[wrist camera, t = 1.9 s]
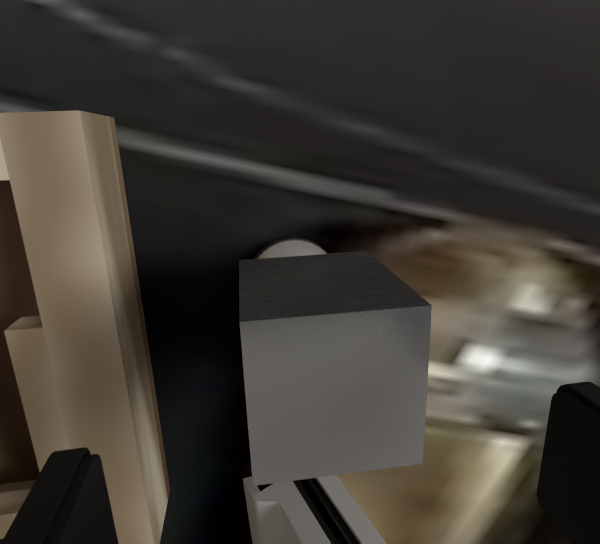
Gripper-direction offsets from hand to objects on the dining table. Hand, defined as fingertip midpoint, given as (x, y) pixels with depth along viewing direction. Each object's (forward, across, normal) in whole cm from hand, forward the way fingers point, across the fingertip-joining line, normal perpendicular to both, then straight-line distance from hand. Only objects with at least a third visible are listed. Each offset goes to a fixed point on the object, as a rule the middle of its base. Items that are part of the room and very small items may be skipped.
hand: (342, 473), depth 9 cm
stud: (+14, -1, 0) cm, 14 cm away
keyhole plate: (+14, +12, +2) cm, 19 cm away
